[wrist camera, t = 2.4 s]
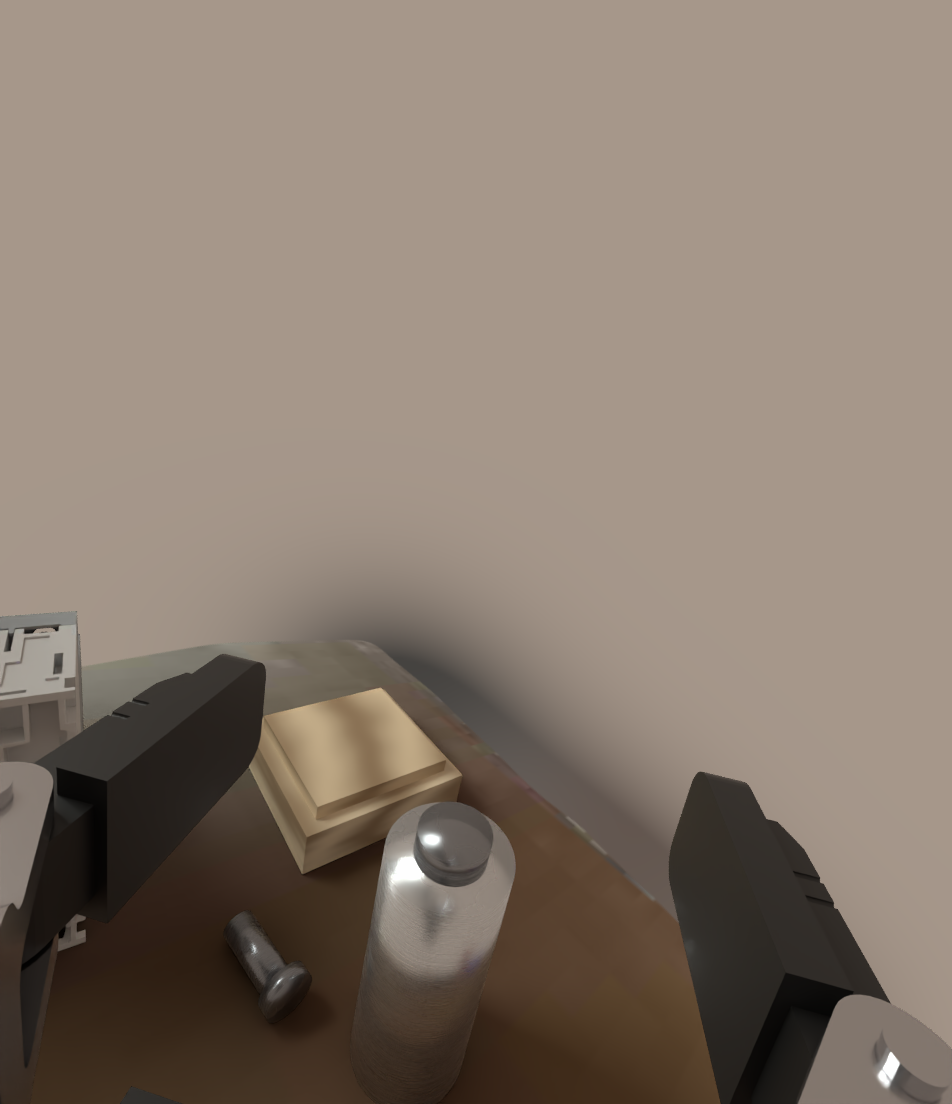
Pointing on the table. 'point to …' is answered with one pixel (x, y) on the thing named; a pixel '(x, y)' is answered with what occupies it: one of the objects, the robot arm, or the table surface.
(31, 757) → the circuit breaker
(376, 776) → the stand
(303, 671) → the table surface
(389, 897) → the silver metal bottle
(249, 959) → the bolt
